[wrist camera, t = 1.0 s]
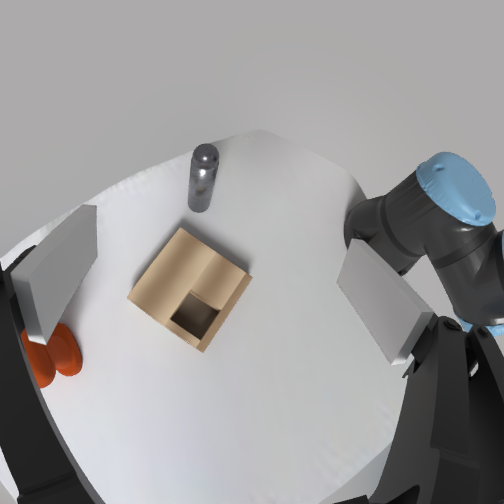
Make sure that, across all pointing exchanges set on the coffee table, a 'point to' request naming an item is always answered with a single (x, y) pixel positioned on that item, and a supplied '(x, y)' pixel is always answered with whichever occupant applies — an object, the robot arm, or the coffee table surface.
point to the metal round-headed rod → (202, 177)
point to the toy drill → (53, 355)
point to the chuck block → (190, 289)
